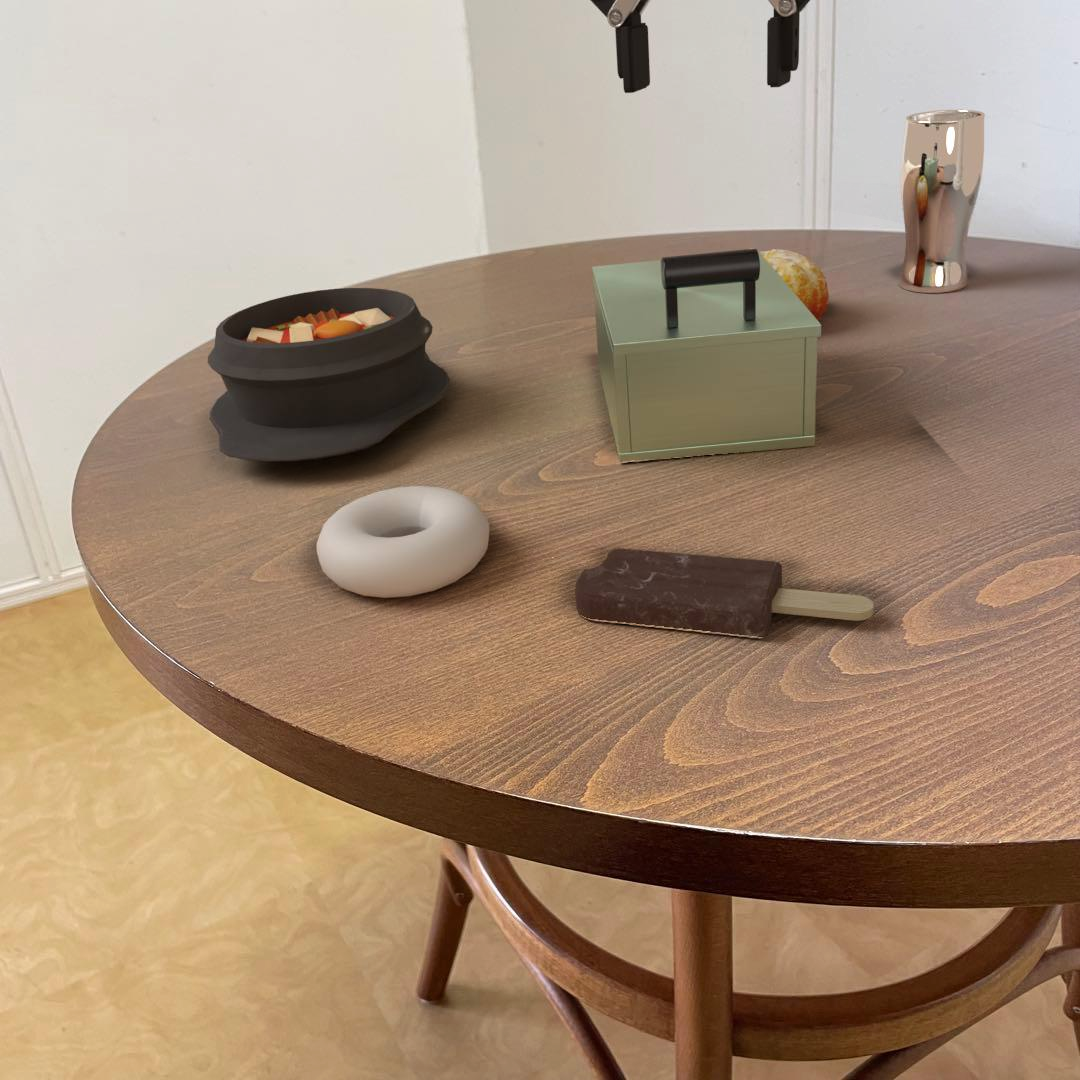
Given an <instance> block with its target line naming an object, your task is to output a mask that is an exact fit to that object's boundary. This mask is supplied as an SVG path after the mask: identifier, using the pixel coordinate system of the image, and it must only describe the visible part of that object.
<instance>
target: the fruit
mask: <svg viewBox="0 0 1080 1080" xmlns="http://www.w3.org/2000/svg"><path fill="white" fill-rule="evenodd" d="M754 248H755V247H750V248H749V249H754ZM757 251H759V250H758V249H757ZM759 252H760V253H761V255H762V256H763V257H764V258H765V259H766V260H767V262H768V263H769V264H770V265H771V266H772V267H773V269H774V270H775V271H776V272H777V273H778V275H779V276H780V277H781V278H782V279H783V280H784V282H785V283H786V284H787V285H788V286H789V287H790V289H791V290H792V291H793V292H794V293H795V294H796V296H797V297H798V298H799V299H800V300H801V302H802V303H803V304H804V305H805V306H806V307H807V309H808V310H809V311H810V312H811V313H812V314H813V316H814V317H815V318H816V319H817V320H818V321H819V322H820V320H822V316H823V315H824V314H825V313H826V311H827V307H828V306H829V297H830V294H829V288H828V282H827V280H826V277H825V275H824V274H823V268H821V269H820V267H819V266H817V264H816V263H814V262H813V261H812V260H811V259H810V258H809V257H807V256H804V255H802V254H800V253H798V252H796V251H795V252H793V251H791V250H787V249H779V248H778V249H777V248H773V249H770V250H766V251H764V250H763V251H759Z"/></svg>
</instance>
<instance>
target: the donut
mask: <svg viewBox="0 0 1080 1080" xmlns="http://www.w3.org/2000/svg"><path fill="white" fill-rule="evenodd" d="M489 537H490V523H489V520H488V518H487V516H486V514H485V513H484V512H483V510H482V509H481V507H480V505H478V503H477V502H476V501H474V500H473V499H471V498H470V497H467V496H466V495H464V494H462V493H461V492H459V491H456V490H454V489H453V490H452V489H449V488H445V487H441V486H427V485H411V486H398V487H393V488H388V489H382V490H379V491H375V492H373V493H369V494H367V495H364V496H361V497H359V498H356V499H354V500H352V501H351V502H348V503H347V504H345V505H343V506H342V507H340V508H339V509H338V510H337V511H336V512H334V513H333V514H332V515H331V516H330V517H329V518H328V519H327V520H326V521H325V523H323V525H322V528H321V531H320V533H319V535H318V538H317V540H316V541H317V542H316V554H317V558H318V561H319V565H320V568H321V569H322V572H323V573H324V575H326V576H327V578H329V579H330V580H331V581H332V582H333V583H335V584H336V585H337V586H338V587H340V588H341V589H344V590H346V591H348V592H351V593H355V594H358V595H360V596H362V597H363V596H364V597H372V598H384V599H391V598H402V597H412V596H416V595H422V594H427V593H430V592H433V591H436V590H440V589H442V588H443V587H446V586H449V585H450V584H454V583H455V582H457V581H458V580H460V579H461V578H463V577H464V576H466V575H467V574H469V573H470V572H471V571H473V569H474V568H476V566H477V565H478V564H479V563H480V561H481V560H482V559H483V557H484V556H485V554H486V552H487V550H488V548H489V540H490V538H489Z"/></svg>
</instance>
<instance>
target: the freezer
mask: <svg viewBox="0 0 1080 1080" xmlns="http://www.w3.org/2000/svg"><path fill="white" fill-rule="evenodd" d="M592 282H593V285H592V286H593V298H594V299H593V300H594V313H595V314H594V315H595V328H596V329H595V330H596V343H597V344H596V346H597V357H598V372H599V376H600V380H601V385H602V390H603V394H604V398H605V399H604V400H605V403H606V408H607V411H608V416H609V420H610V425H611V429H612V430H611V431H612V434H613V439H614V438H615V439H614V443H615V448H616V447H617V448H616V451H618V452H617V456H618V455H619V457H618V461H619V460H620V461H619V463H620V462H623V461H631V460H635V461H636V460H645V459H660V458H674V457H686V456H698V455H710V454H723V455H729V454H728V453H734V454H744V453H753V451H755V452H764V451H765V452H766V451H776V450H786V449H787V450H788V449H797V448H807V447H809V448H810V447H815V446H816V422H817V421H816V419H817V417H816V416H817V379H818V377H817V376H818V372H817V371H818V341H819V340H818V339H819V337H809V338H798V339H788V340H777V341H767V342H756V343H746V344H735V345H724V346H714V347H703V348H693V349H682V350H672V351H661V352H651V353H640V354H630V355H619V356H614V353H613V349H612V345H611V342H610V338H609V334H608V331H607V327H606V323H605V320H604V316H603V312H602V308H601V305H600V301H599V297H598V294H597V290H596V286H595V283H594V279H593V278H592ZM740 452H741V453H740ZM743 452H744V453H743Z"/></svg>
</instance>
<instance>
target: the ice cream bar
mask: <svg viewBox="0 0 1080 1080" xmlns="http://www.w3.org/2000/svg"><path fill="white" fill-rule="evenodd" d="M574 587H575V588H574V597H575V608H576V610H577V614H578V613H579V614H580V615H582V616H584V617H586V618H590V619H598V620H607V621H617V622H626V623H636V624H645V625H655V626H664V627H673V628H683V629H692V630H702V631H711V632H721V633H730V634H739V635H749V636H758V637H765V638H766V636H767V634H768V631H769V629H770V626H771V625H772V619H773V618H772V617H773V613H774V614H775V613H776V614H785V615H794V616H803V617H804V616H805V617H813V618H824V619H825V618H826V619H836V620H844V621H857V622H859V621H865V620H867V619H870V618H871V617H872V616H873V615H874V602H873V600H871V599H870V598H868V597H866V596H863V595H858V594H851V593H849V594H848V593H837V592H829V591H828V592H827V591H815V590H804V589H793V588H784V587H783V565H782V563H780V562H778V561H775V560H762V559H751V558H737V557H729V556H714V555H703V554H702V555H701V554H692V553H691V554H690V553H680V552H679V553H678V552H666V551H655V550H645V549H644V550H643V549H631V548H620V547H619V548H614V549H611V551H609V552H608V553H607V557H606V558H605V559H604V561H603V562H602V563H600V564H598V565H596V566H594V567H592V568H585V569H583V570H582V571H581V574H580V575H579V576H578V578H577V579H576V582H575V586H574ZM579 614H578V615H579ZM580 615H579V616H580Z"/></svg>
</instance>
